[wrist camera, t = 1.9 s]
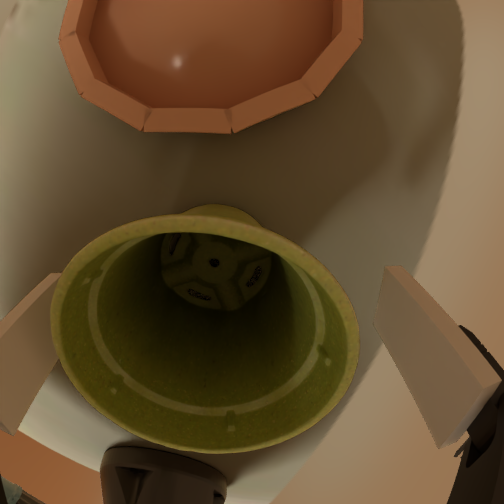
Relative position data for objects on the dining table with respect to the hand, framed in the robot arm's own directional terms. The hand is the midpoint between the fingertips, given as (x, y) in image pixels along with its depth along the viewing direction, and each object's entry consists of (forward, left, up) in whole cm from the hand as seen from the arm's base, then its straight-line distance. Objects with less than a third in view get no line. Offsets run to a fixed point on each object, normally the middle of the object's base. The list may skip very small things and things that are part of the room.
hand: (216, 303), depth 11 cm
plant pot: (0, 0, -5) cm, 5 cm away
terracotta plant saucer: (+11, +8, -5) cm, 14 cm away
